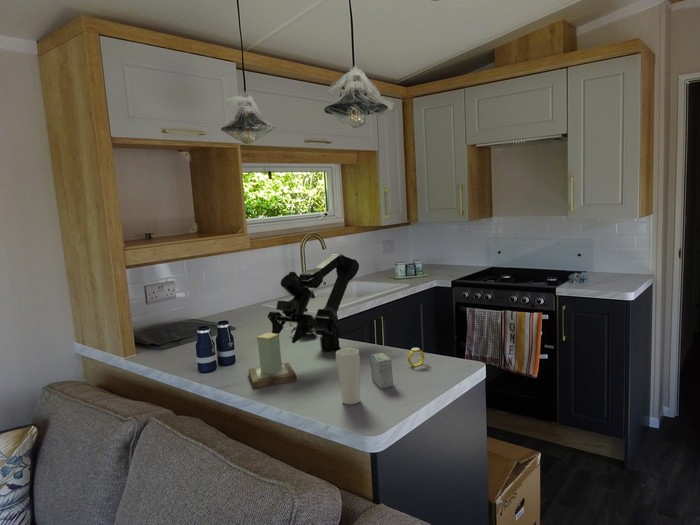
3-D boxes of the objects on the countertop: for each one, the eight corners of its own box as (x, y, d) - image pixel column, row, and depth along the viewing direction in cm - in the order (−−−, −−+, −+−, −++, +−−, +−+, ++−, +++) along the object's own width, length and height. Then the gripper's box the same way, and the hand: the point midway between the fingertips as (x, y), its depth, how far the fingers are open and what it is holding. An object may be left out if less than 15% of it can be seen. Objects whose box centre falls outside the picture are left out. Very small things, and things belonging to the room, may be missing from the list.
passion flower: (314, 347, 228) (321, 328, 221) (289, 346, 224) (295, 327, 217) (311, 327, 236) (316, 309, 229) (287, 327, 233) (292, 307, 225)
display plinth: (288, 367, 187) (288, 361, 186) (296, 380, 173) (296, 373, 173) (249, 374, 183) (248, 368, 183) (253, 388, 170) (253, 381, 169)
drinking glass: (336, 405, 151) (331, 354, 149) (344, 396, 157) (340, 347, 155) (358, 407, 148) (354, 355, 146) (366, 397, 155) (362, 348, 153)
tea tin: (271, 367, 182) (267, 332, 180) (282, 369, 179) (279, 333, 177) (260, 372, 177) (256, 336, 176) (272, 374, 174) (268, 338, 173)
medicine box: (393, 386, 162) (392, 359, 161) (380, 389, 161) (378, 361, 159) (384, 378, 169) (383, 352, 168) (371, 380, 168) (369, 354, 167)
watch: (412, 369, 176) (410, 352, 175) (407, 367, 179) (405, 350, 178) (426, 364, 179) (424, 347, 178) (421, 362, 182) (419, 345, 181)
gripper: (267, 289, 189) (249, 327, 182) (308, 291, 179) (290, 332, 172) (284, 305, 197) (267, 343, 190) (324, 308, 186) (308, 348, 179)
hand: (282, 341), depth 182 cm, fingers open, 9 cm apart
